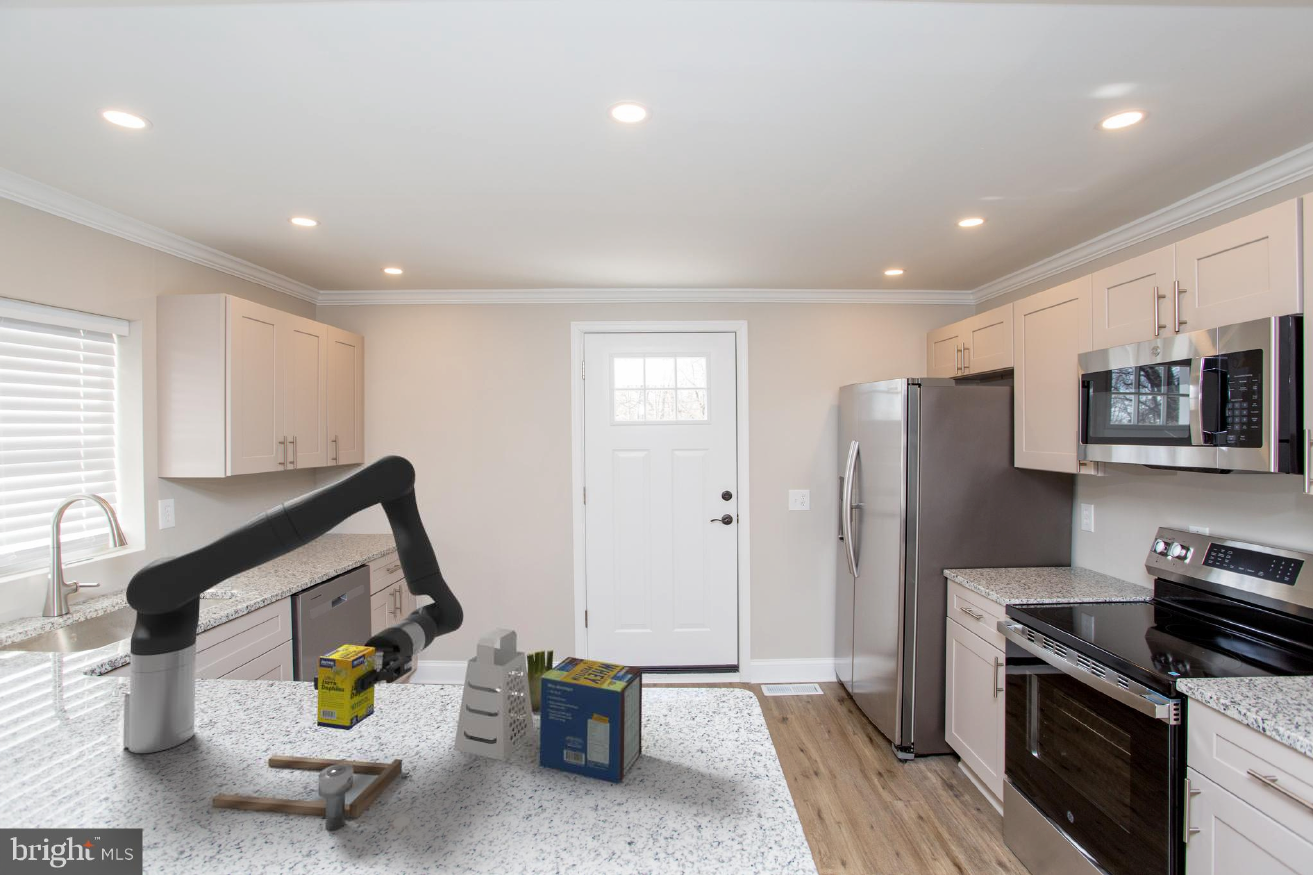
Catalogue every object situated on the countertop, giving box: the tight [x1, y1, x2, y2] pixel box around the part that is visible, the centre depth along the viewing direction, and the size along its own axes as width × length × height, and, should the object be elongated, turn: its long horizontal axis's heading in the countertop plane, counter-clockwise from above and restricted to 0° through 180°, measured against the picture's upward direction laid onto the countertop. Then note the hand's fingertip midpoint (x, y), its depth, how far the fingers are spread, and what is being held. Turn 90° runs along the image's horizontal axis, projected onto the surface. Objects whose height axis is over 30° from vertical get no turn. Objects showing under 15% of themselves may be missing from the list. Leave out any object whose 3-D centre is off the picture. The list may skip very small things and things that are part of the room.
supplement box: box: [316, 644, 376, 731], centre depth 93 cm, size 6×6×11 cm
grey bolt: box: [317, 764, 354, 832], centre depth 85 cm, size 4×4×8 cm
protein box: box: [538, 656, 643, 784], centre depth 103 cm, size 10×15×16 cm
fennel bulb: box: [526, 649, 554, 711], centre depth 123 cm, size 6×5×12 cm
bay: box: [211, 754, 403, 819], centre depth 94 cm, size 23×12×2 cm, turn 84°
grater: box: [453, 627, 536, 762], centre depth 109 cm, size 10×10×20 cm
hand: (337, 685), depth 91 cm, fingers closed on supplement box, 6 cm apart
